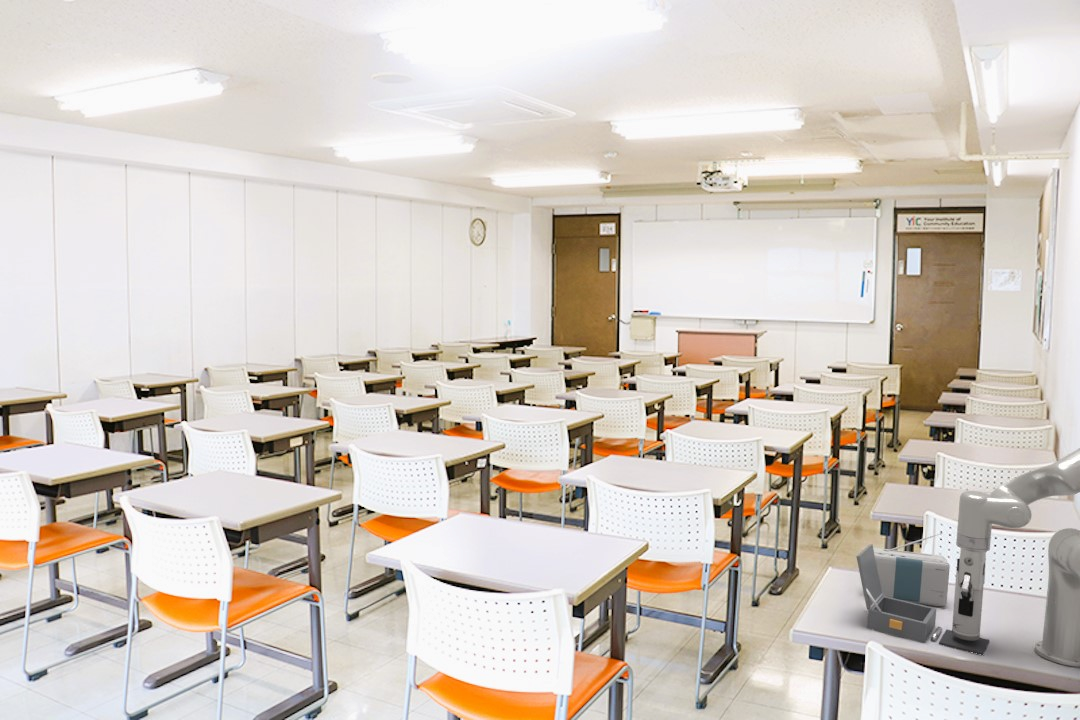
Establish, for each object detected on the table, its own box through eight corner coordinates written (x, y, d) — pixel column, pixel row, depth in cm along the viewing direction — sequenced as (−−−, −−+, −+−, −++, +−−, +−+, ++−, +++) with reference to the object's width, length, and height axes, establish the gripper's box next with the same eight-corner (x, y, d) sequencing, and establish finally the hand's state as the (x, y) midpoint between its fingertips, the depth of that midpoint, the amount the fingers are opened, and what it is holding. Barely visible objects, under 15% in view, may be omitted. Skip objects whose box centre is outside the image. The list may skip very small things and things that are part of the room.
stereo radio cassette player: (866, 599, 242) (871, 531, 240) (864, 589, 249) (869, 523, 247) (946, 610, 236) (952, 540, 234) (941, 599, 243) (947, 531, 241)
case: (935, 626, 224) (940, 558, 222) (924, 643, 212) (929, 571, 211) (864, 609, 234) (869, 543, 232) (850, 624, 223) (855, 556, 221)
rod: (942, 631, 221) (942, 626, 221) (935, 642, 214) (936, 637, 214) (937, 629, 221) (937, 625, 221) (930, 640, 214) (930, 636, 214)
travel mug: (951, 638, 212) (956, 560, 210) (952, 628, 218) (957, 553, 216) (979, 643, 209) (985, 565, 207) (979, 633, 215) (985, 557, 213)
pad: (989, 642, 215) (989, 639, 215) (983, 655, 207) (983, 653, 207) (946, 631, 221) (946, 629, 220) (938, 644, 212) (938, 642, 212)
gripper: (984, 553, 202) (978, 625, 204) (995, 536, 216) (989, 604, 218) (950, 546, 206) (944, 617, 208) (962, 530, 220) (957, 597, 222)
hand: (967, 610), depth 213 cm, fingers closed on travel mug, 6 cm apart
